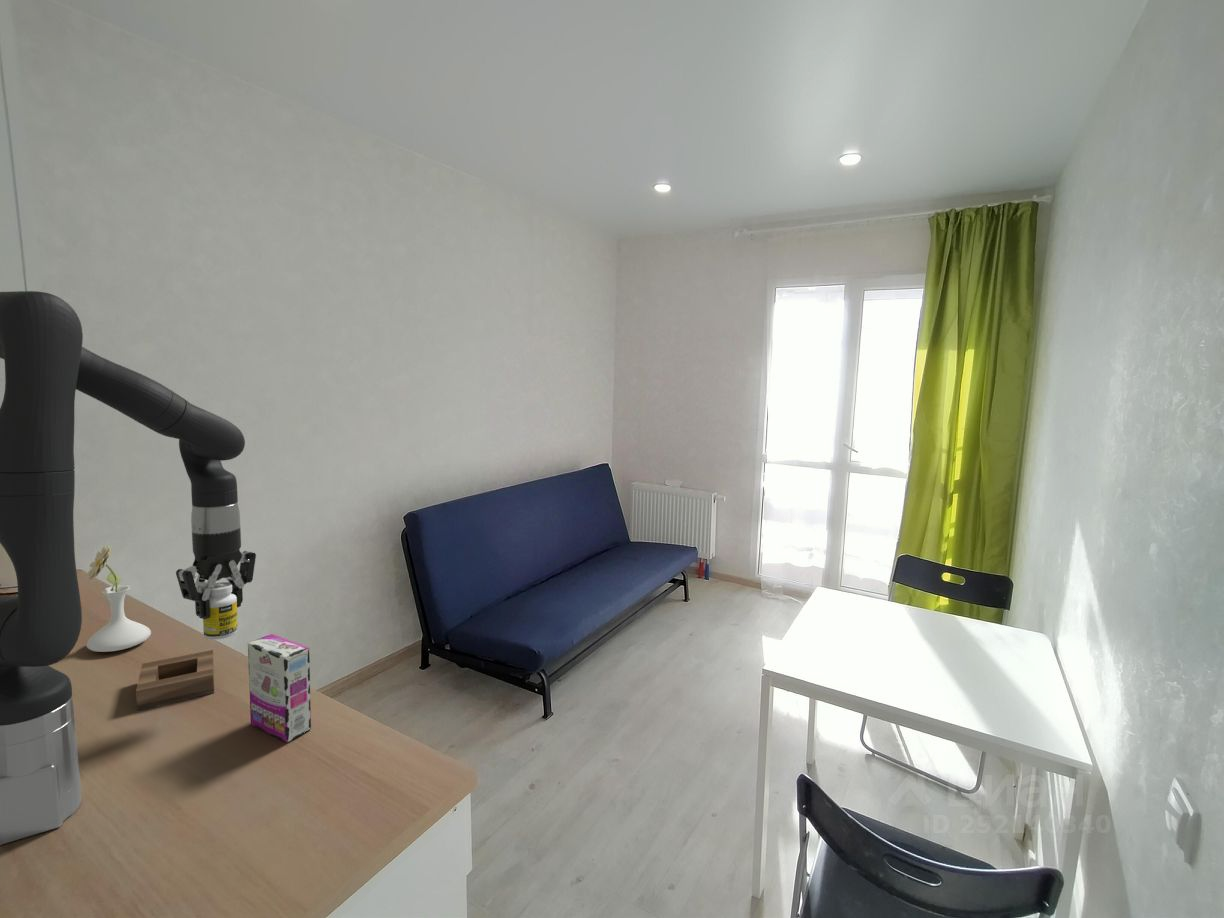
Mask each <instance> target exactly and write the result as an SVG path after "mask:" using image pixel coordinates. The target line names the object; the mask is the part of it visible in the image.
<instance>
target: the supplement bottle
mask: <svg viewBox="0 0 1224 918" xmlns="http://www.w3.org/2000/svg"><path fill="white" fill-rule="evenodd" d="M231 592H232V584H231V583H228V581H227V582H225V581H223V582H216V583H215V586H214V588H212V589H211V592H210V595H209V598H208V599H209V602H210V618H208V619H202V621H203V622H202V624H203V637H204V638H206V639H207V640H222V639H226V638H229V637H231V636H233V635H235V634H236V633H237V632H238V607H237V597H236V596H235V595H234V594H232V593H231Z"/></svg>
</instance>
